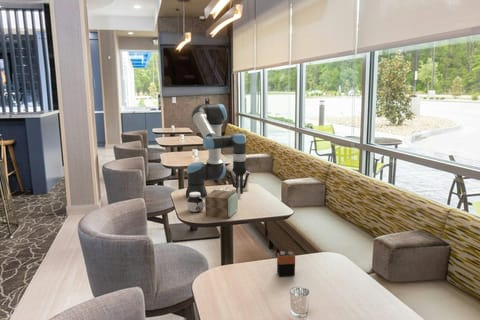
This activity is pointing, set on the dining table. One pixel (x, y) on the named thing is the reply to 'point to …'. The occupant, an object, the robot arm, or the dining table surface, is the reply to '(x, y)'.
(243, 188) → the teacup with lid
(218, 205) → the box
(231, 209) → the pale green angular block
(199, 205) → the spread jar
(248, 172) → the robot arm
